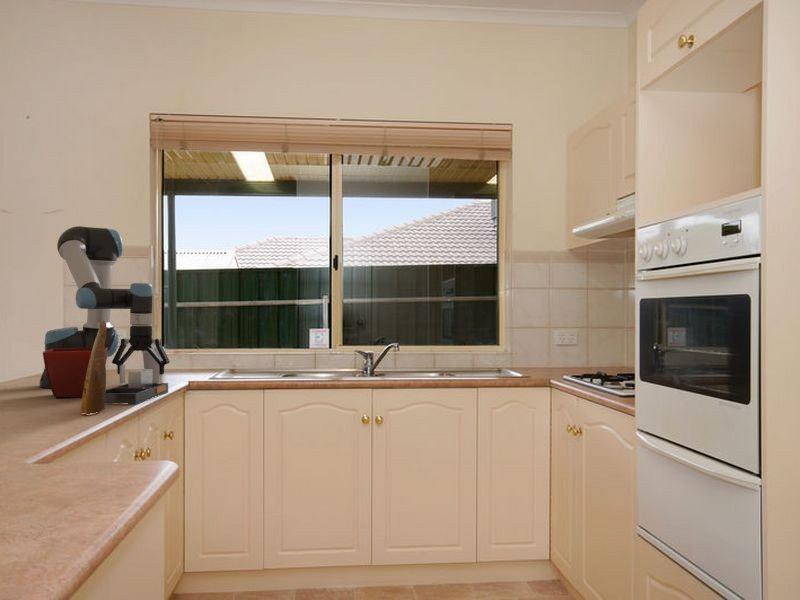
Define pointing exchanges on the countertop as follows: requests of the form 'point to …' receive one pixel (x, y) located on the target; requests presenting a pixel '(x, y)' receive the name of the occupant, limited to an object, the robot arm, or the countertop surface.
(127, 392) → the tray
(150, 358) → the coffee cup
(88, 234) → the robot arm
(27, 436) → the countertop surface
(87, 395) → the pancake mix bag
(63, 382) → the plant pot
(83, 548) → the countertop surface
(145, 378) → the plain grey rectangular box
